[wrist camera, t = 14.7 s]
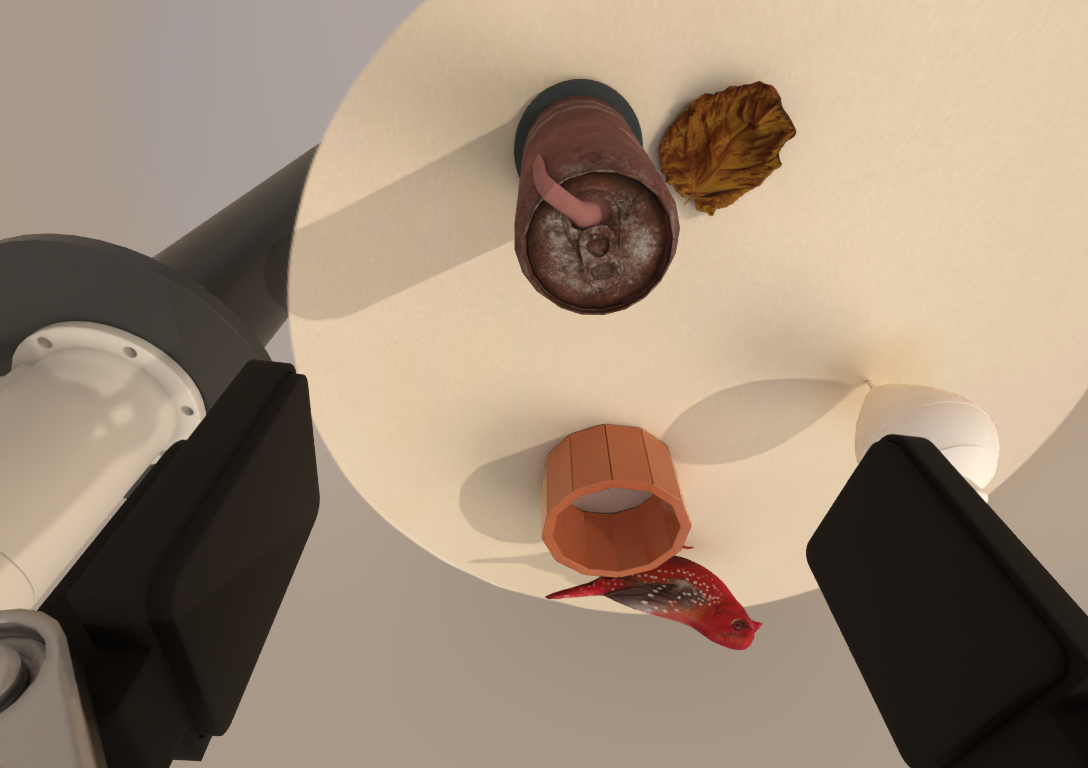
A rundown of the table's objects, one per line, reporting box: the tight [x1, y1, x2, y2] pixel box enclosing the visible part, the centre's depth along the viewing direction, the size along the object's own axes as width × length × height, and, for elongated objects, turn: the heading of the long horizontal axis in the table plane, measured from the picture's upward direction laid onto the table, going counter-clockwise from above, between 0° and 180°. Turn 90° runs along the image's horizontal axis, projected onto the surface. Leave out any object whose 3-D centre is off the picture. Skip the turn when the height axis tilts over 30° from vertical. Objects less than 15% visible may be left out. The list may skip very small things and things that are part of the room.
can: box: [515, 96, 680, 315], centre depth 25 cm, size 6×6×14 cm
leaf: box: [659, 81, 796, 216], centre depth 31 cm, size 6×7×2 cm
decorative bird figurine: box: [546, 546, 762, 650], centre depth 47 cm, size 3×18×10 cm, turn 86°
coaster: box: [514, 79, 643, 178], centre depth 31 cm, size 7×7×1 cm
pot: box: [542, 424, 691, 578], centre depth 44 cm, size 11×11×6 cm
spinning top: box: [855, 381, 999, 503], centre depth 36 cm, size 8×8×12 cm
